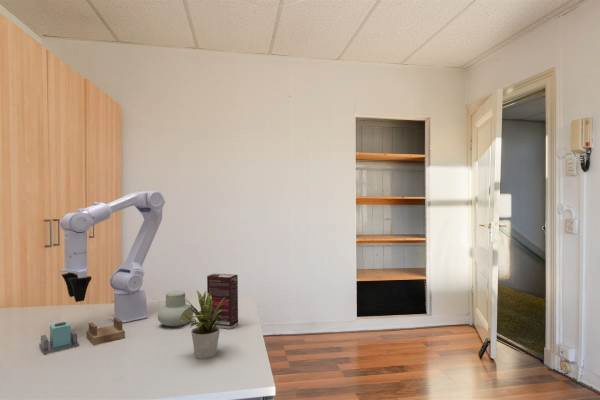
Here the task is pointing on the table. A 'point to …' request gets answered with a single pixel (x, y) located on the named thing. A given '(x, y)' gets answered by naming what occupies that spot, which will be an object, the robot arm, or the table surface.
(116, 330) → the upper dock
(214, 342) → the house plant
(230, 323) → the supplement box
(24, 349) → the table surface
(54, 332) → the plug
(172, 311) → the air freshener
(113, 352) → the table surface
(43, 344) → the lower dock
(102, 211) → the robot arm
